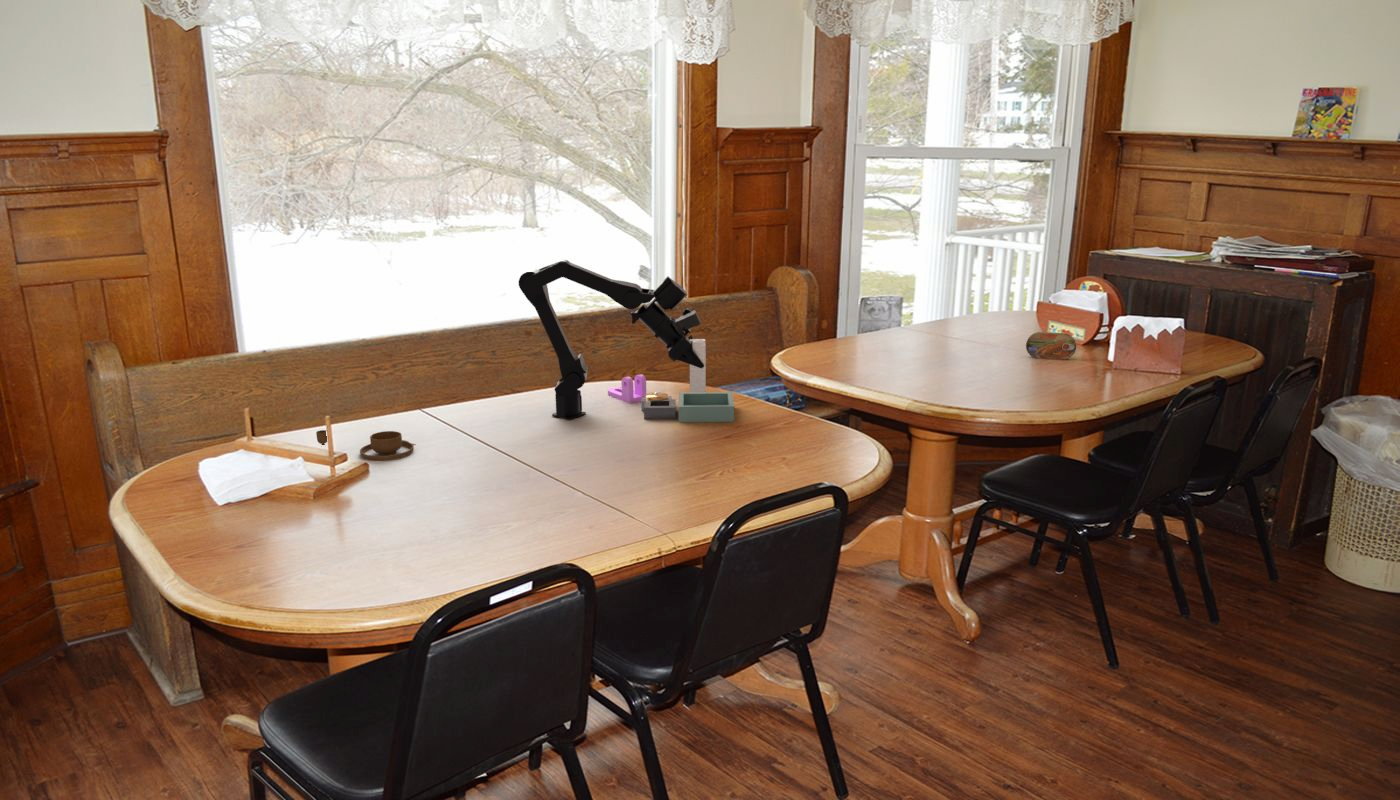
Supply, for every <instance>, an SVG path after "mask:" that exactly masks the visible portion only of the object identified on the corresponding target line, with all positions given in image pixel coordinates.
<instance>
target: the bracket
mask: <svg viewBox="0 0 1400 800" xmlns="http://www.w3.org/2000/svg"><path fill="white" fill-rule="evenodd" d="M646 394H647V379H646V377H645V375H644V374H636V375H635V376H634V380H633V378H632V377H630V376H623V377H622V379H621V387H620V386H618V387H617V386H615V387H610V388H608V389H607V395H608V396H609V397H612V398H615V399H617V400H620V401H622V402H625V403H628V404H633V403H637V402H641V400H642V397H645V395H646Z"/></svg>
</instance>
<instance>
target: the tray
mask: <svg viewBox="0 0 1400 800" xmlns="http://www.w3.org/2000/svg"><path fill="white" fill-rule="evenodd" d="M710 422H711V423H712V422H713V423H715V422H717V423H719V422H720V423H723V422H724V423H730V422H731V423H732V422H735V403H734V398H733V392H732V391H727V392H726V391H723V392H721V391H720V392H718V391H717V392H714V391H713V392H709V391H708V392H707V391H706V392H679V393H678V423H710Z"/></svg>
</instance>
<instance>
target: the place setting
mask: <svg viewBox="0 0 1400 800" xmlns="http://www.w3.org/2000/svg"><path fill="white" fill-rule="evenodd" d="M326 431H327V430H326V429H324V430H318V431H317V430H316V432H315V433H316V440H317V442H318V444H320V446H321V445H325V446H326V444H327V443H328V441H327V436H326ZM402 438H403V437H402V433H401V432H400V431H395V430H389V431H388V430H385V431H379V432H375V433H372V434H371V435H370V437H369V439H370V441H369V442H370V443H369V444H366V445H363V446H362V447H361V448H360V449H359V455H360V456H361V457H362V458H363V459H365V460H368V461H375V462H376V461H377V462H378V461H379V462H380V461H383V462H384V461H393V460H397V459H398V460H399V459H403V458H405V457H408V456H410V455H411V454H412V453H413V452H414V449H415V448H414V446H416V445H417V444H416V443H411V442H409V441H408V440H403V439H402ZM401 448H407V449H408V450H406V451H403V452H400V453H397V451H400V449H401ZM372 450H373V451H374V452H375V453H377V454H378V455H371V454H366V453H367V452H369V451H372Z"/></svg>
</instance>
